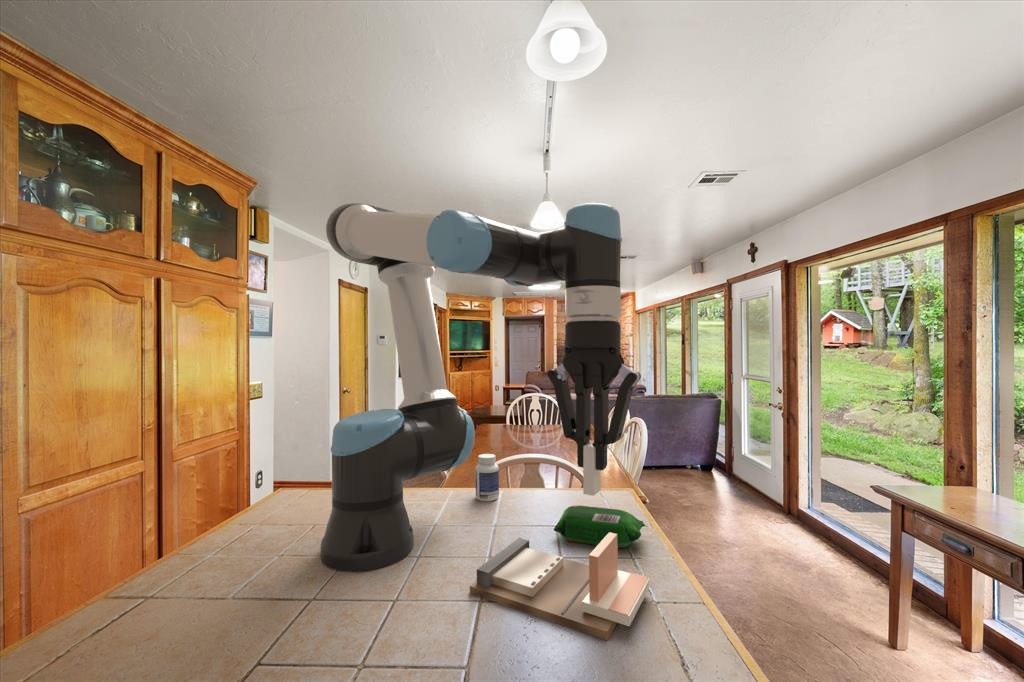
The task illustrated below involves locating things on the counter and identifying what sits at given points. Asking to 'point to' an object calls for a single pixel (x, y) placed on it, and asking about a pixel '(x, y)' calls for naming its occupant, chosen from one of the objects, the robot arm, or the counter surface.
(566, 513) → the snack package
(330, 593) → the counter surface
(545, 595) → the wooden base board
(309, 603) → the counter surface
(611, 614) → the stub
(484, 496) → the pill bottle
